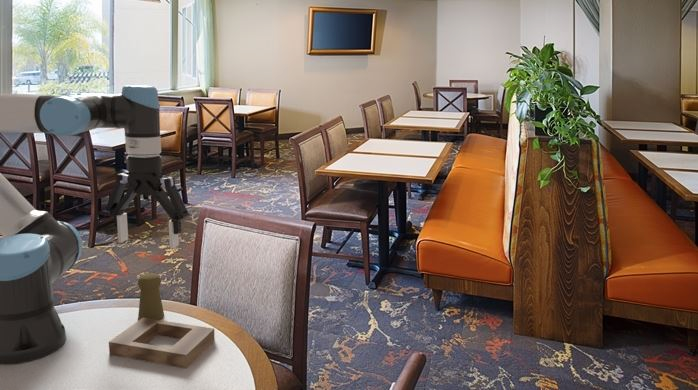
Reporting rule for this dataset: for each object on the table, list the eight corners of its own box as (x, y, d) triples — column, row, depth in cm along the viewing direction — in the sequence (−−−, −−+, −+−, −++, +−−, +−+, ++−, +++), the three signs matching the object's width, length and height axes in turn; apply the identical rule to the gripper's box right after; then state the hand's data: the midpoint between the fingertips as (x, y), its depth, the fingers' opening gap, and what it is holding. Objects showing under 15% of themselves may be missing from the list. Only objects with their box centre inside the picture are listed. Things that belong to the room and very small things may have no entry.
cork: (155, 324, 125) (153, 280, 123) (132, 321, 126) (130, 278, 124) (169, 313, 131) (167, 271, 129) (147, 310, 132) (144, 269, 130)
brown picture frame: (109, 354, 111) (108, 341, 111) (143, 329, 123) (143, 317, 122) (186, 368, 107) (186, 355, 107) (214, 340, 119) (214, 328, 118)
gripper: (85, 153, 119) (92, 242, 124) (184, 160, 114) (188, 254, 118) (107, 149, 126) (113, 234, 131) (201, 156, 121) (204, 244, 126)
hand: (148, 243), depth 125 cm, fingers open, 13 cm apart
